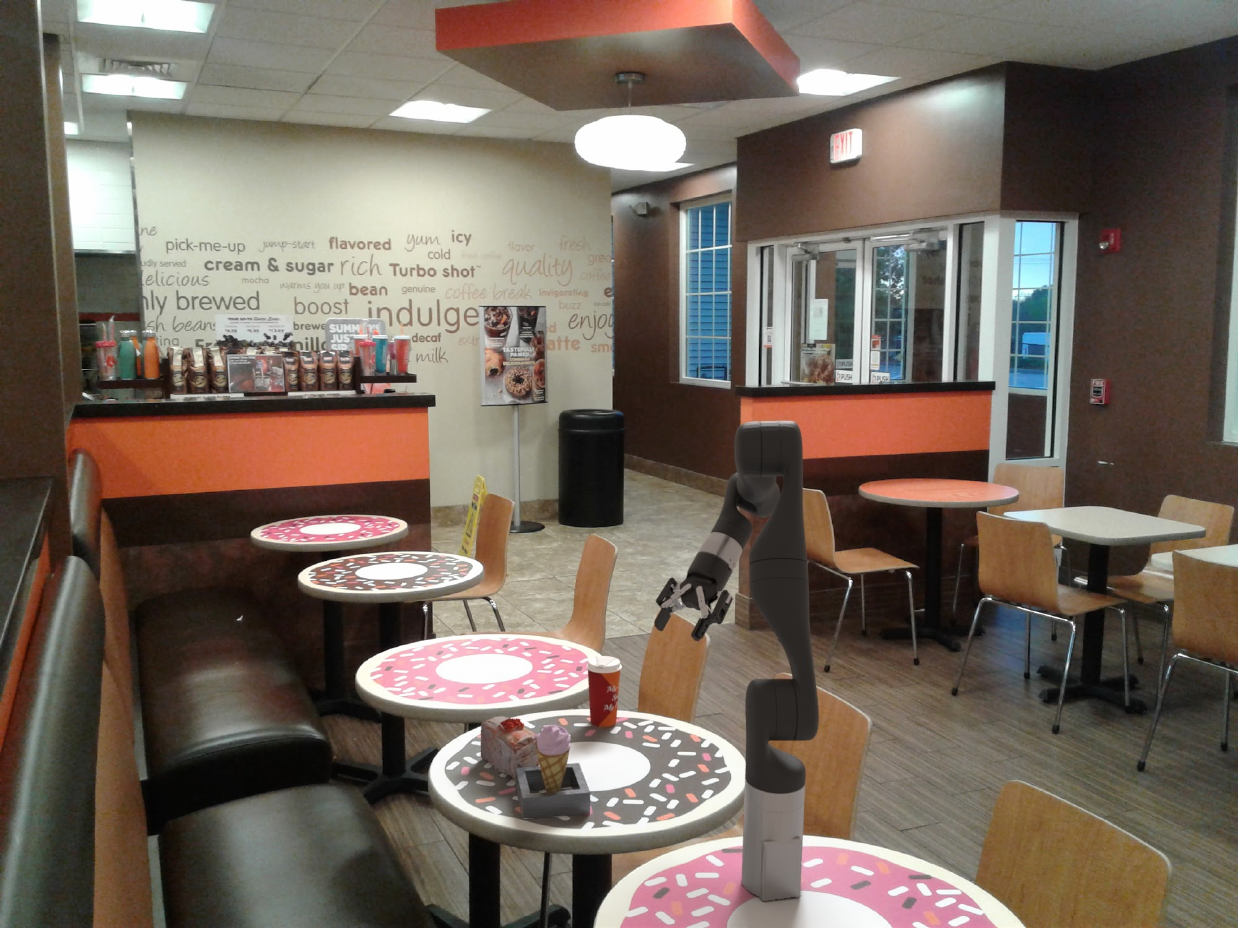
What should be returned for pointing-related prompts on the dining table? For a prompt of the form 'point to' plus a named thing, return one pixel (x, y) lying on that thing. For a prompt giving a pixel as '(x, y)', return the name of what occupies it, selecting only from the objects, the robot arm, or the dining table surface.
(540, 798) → the hollow square frame
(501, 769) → the food item
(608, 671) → the paper cup
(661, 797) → the dining table surface
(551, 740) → the ice cream cone
